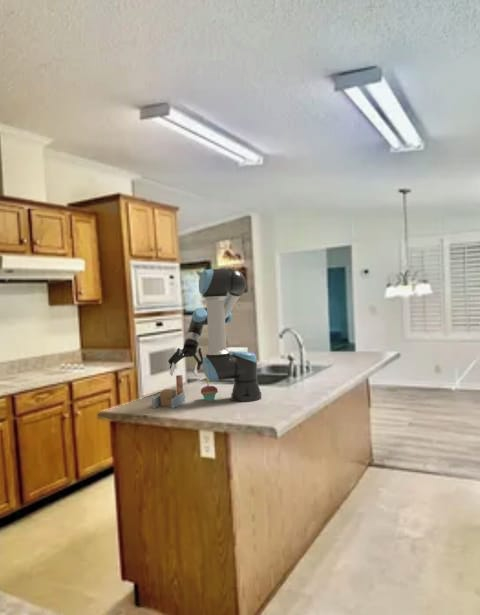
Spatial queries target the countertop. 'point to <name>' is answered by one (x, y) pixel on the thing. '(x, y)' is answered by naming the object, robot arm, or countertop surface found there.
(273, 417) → the countertop surface
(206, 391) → the cupcake
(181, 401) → the lane
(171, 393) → the tethered block
